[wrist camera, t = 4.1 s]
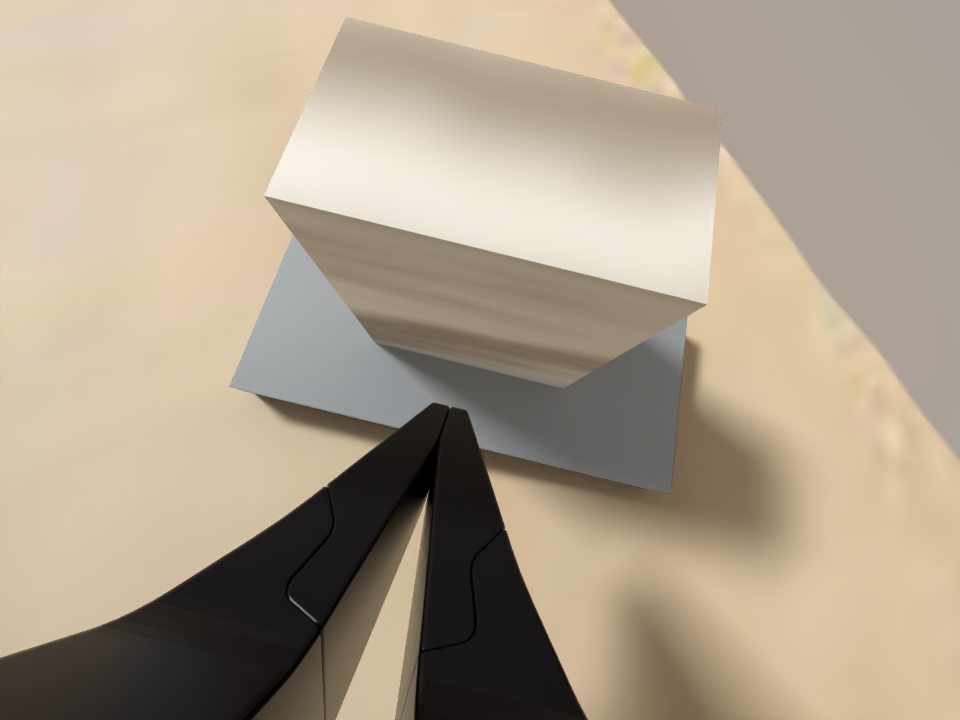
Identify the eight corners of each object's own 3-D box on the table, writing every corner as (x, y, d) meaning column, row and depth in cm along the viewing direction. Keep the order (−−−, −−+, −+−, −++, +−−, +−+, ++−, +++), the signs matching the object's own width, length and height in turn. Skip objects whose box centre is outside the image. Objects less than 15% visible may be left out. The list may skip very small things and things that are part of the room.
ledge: (647, 489, 18) (670, 494, 16) (254, 393, 18) (229, 386, 16) (665, 323, 20) (687, 309, 18) (316, 237, 20) (301, 214, 18)
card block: (563, 388, 17) (707, 304, 7) (375, 342, 17) (264, 195, 7) (580, 292, 18) (722, 109, 8) (405, 249, 18) (345, 16, 8)
